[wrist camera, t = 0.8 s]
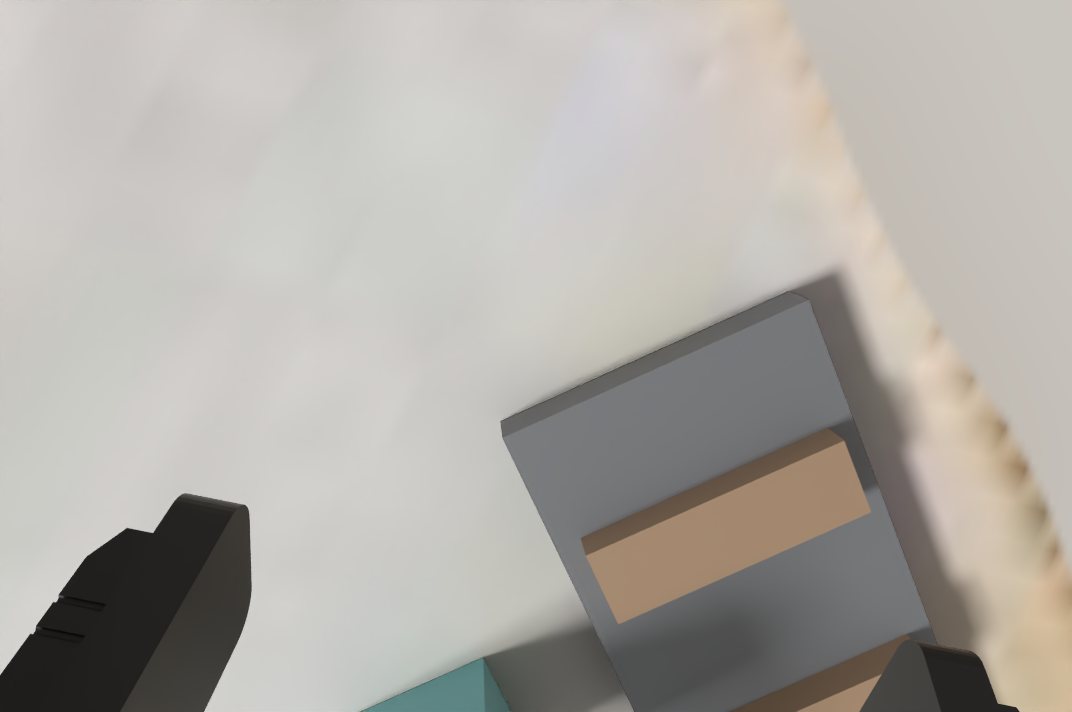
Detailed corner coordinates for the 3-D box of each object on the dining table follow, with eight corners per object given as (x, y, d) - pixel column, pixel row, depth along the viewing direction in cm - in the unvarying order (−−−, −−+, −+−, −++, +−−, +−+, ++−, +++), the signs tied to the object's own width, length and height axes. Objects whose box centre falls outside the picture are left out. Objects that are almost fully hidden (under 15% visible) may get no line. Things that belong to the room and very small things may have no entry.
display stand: (500, 421, 34) (504, 451, 31) (789, 291, 34) (825, 306, 30) (708, 855, 39) (731, 922, 36) (960, 745, 39) (1008, 802, 35)
